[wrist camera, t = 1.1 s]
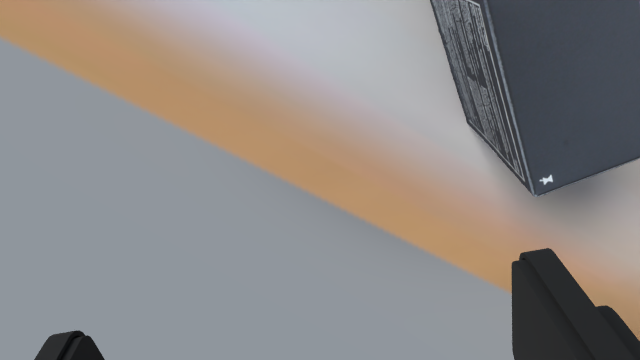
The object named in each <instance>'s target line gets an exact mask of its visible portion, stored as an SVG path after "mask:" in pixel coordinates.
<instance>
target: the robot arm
mask: <svg viewBox="0 0 640 360" xmlns="http://www.w3.org/2000/svg"><path fill="white" fill-rule="evenodd" d="M512 341H513V342H512V345H513V355H514V359H515V360H640V341H639V340H638V339H637V338H636V336H635V335H634V334H633V333H632V331H631V330H630V329H629V328H628V326H627V325H626V324H625V323H624V321H623V320H622V319H621V318H620V316H619V315H618V314H617V313H616V312H615V311H614V310H613V309H612V308H610V307H608V306H598V307H595V306H594V304H593V303H592V302H591V300H590V299H589V298H588V296H587V295H586V294H585V292H584V291H583V290H582V288H581V287H580V286H579V284H578V283H577V282H576V281H575V279H574V278H573V277H572V275H571V274H570V273H569V271H568V270H567V269H566V267H565V266H564V265H563V263H562V262H561V261H560V259H559V258H558V257H557V256H556V254H555V253H554V252H553V251H552V250H551V249H549V248H547V249H541V250H535V251H529V252H524V253H521V254H520V258H519V261H514V262H512ZM34 360H104V358H103V356H102V354H101V353H100V351H99V349H98V348H97V346H96V345H95V343H94V341H93V340H92V338H91V337H90V336H85V335H84V333H83V332H81V331H71V332H66V333H60V334H54V335H52V336H50V337H49V338H48V339H47V340H46V342H45V343H44V345H43V347H42V348H41V350H40V351H39V353H38V355H37V356H36V358H35V359H34Z"/></svg>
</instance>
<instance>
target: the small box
mask: <svg viewBox="0 0 640 360" xmlns="http://www.w3.org/2000/svg"><path fill="white" fill-rule="evenodd" d="M430 1H431V5H432V8H433V11H434V15H435V18H436V21H437V25H438V28H439V32H440V35H441V38H442V41H443V45H444V48H445V51H446V55H447V58H448V61H449V65H450V68H451V73H452V75H453V79H454V81H455V84H456V88H457V92H458V95H459V98H460V101H461V104H462V107H463V110H464V113H465V116H466V120H467V123H468V124H469V125H470V126H471V127H472V128H473V129H474V130H475V131H476V132H477V133H478V134H479V135H480V136H481V137H482V138H483V139H484V141H485V142H486V143H487V144H488V145H489V146H490V147H491V148H492V149H493V150H494V151H495V152H496V154H497V155H498V157H499V158H500V159H501V160H502V161H503V162H504V163H505V164H506V165H507V167H508V168H509V169H510V170H511V171H512V172H513V173H514V174H515V176H516V177H517V178H518V179H519V180H520V181H521V183H522V184H523V185H525V187H526V188H527V189H528V190H529V191H530V192H531V194H532V195H533V196H535V197H540V196H542V195H545V194H547V193H549V192H552V191H555V190H557V189H560V188H563V187H565V186H568V185H570V184H574V183H576V182H579V181H581V180H584V179H587V178H589V177H592V176H595V175H597V174H600V173H603V172H605V171H608V170H611V169H613V168H617V167H619V166H622V165H624V164H627V163H629V162H632V161H635V160H637V159H640V0H430Z"/></svg>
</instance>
